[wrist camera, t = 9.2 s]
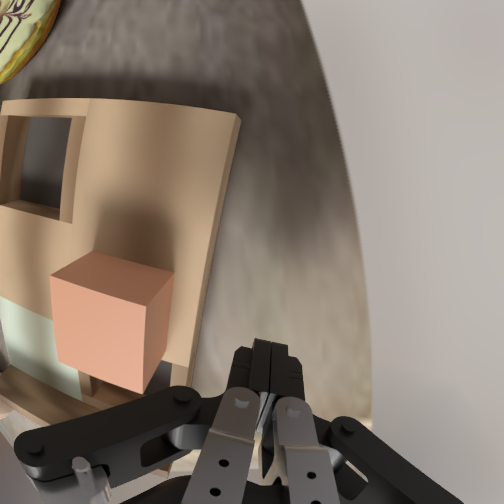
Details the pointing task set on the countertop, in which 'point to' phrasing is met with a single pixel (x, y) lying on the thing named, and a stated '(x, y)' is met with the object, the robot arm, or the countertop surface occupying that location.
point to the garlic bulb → (4, 409)
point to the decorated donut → (23, 32)
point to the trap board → (104, 230)
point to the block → (111, 318)
